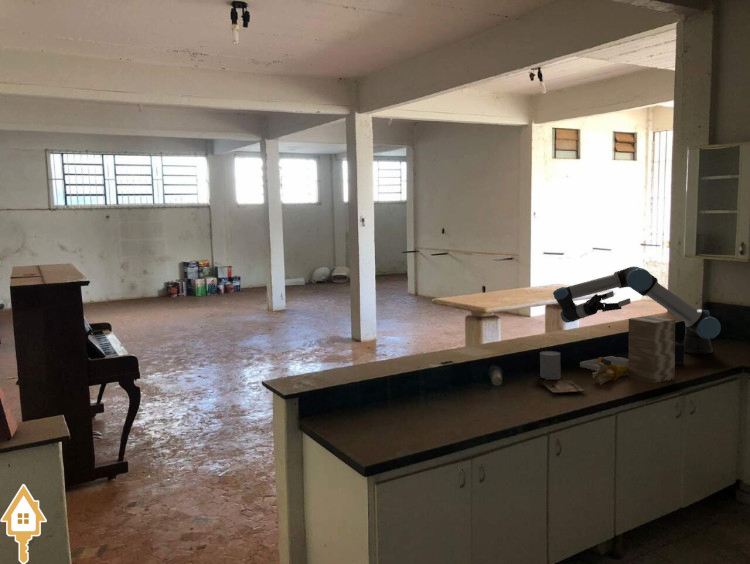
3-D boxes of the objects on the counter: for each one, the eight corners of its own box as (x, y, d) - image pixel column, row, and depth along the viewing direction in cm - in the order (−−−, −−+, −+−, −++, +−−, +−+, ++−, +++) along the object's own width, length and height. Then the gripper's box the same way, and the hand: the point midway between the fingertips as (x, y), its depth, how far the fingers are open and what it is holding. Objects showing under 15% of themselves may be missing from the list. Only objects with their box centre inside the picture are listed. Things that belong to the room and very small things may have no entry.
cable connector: (604, 363, 312) (604, 352, 312) (632, 371, 296) (632, 360, 296) (595, 364, 310) (595, 354, 309) (623, 372, 294) (624, 362, 293)
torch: (629, 383, 287) (598, 386, 272) (616, 372, 293) (585, 375, 278) (637, 369, 284) (607, 372, 269) (624, 359, 289) (593, 361, 275)
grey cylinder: (560, 381, 284) (560, 355, 283) (539, 380, 287) (539, 355, 286) (561, 376, 293) (560, 351, 292) (540, 375, 296) (540, 350, 295)
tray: (611, 360, 318) (611, 356, 318) (651, 370, 296) (651, 365, 296) (580, 366, 309) (580, 362, 308) (619, 377, 286) (619, 372, 286)
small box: (684, 365, 303) (685, 344, 302) (671, 365, 303) (671, 345, 302) (674, 360, 314) (674, 340, 313) (662, 361, 314) (662, 341, 313)
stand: (649, 372, 292) (649, 315, 290) (674, 378, 280) (675, 319, 277) (628, 376, 286) (628, 318, 283) (653, 383, 274) (654, 322, 271)
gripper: (602, 321, 327) (637, 310, 310) (572, 309, 315) (606, 297, 298) (601, 308, 330) (635, 297, 313) (571, 296, 318) (605, 283, 301)
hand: (621, 297), depth 306 cm, fingers open, 13 cm apart
